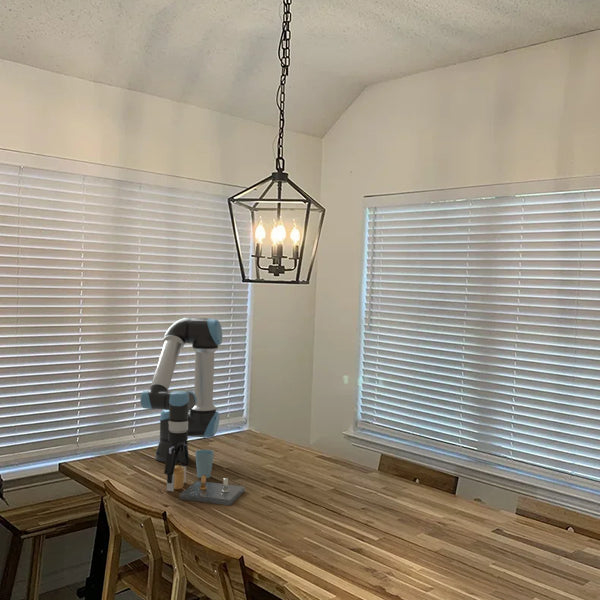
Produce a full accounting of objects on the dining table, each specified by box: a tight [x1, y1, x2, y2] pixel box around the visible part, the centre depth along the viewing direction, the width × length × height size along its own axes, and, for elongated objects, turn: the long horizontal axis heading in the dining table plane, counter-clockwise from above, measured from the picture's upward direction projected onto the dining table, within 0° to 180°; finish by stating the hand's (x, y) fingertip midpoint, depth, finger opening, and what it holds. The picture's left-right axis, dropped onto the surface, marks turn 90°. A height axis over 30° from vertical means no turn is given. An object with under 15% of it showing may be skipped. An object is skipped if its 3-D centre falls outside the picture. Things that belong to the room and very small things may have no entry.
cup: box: [194, 449, 215, 479], centre depth 263 cm, size 8×8×10 cm
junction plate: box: [179, 475, 245, 506], centre depth 240 cm, size 16×20×7 cm
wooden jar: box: [173, 464, 184, 490], centre depth 248 cm, size 5×5×8 cm
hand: (176, 486), depth 249 cm, fingers open, 10 cm apart
